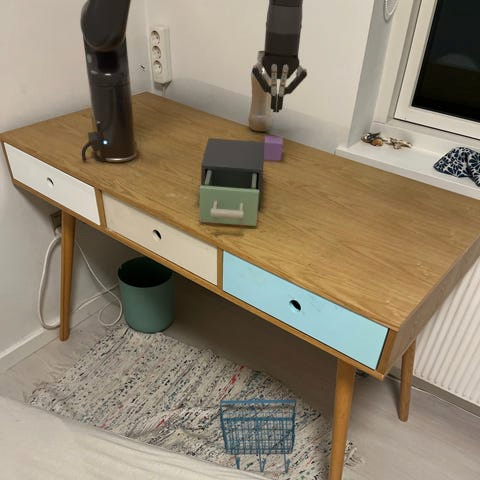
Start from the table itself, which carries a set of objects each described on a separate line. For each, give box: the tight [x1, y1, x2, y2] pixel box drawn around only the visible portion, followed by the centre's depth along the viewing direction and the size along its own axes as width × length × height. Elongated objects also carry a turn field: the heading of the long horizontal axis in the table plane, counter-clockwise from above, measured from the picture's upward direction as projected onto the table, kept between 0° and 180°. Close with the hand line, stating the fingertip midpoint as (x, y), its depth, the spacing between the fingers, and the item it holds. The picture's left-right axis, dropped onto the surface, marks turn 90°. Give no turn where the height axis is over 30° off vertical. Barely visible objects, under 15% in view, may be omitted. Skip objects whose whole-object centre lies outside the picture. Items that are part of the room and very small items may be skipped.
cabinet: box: [200, 137, 265, 211], centre depth 110 cm, size 15×13×9 cm
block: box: [263, 135, 284, 162], centre depth 128 cm, size 4×4×4 cm
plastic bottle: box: [247, 50, 273, 132], centre depth 137 cm, size 6×7×20 cm
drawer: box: [199, 169, 259, 227], centre depth 102 cm, size 18×11×7 cm, turn 177°
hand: (275, 111), depth 119 cm, fingers closed
